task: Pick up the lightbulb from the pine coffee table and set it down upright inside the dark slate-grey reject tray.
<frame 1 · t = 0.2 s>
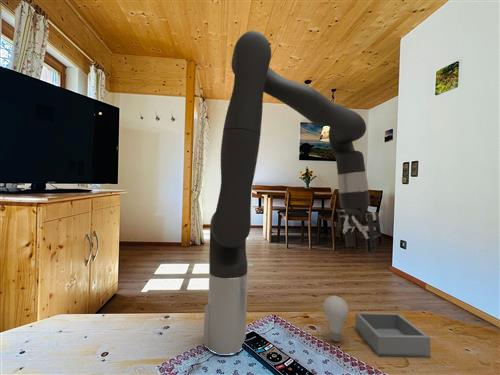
hand: (360, 249, 68), 22 cm above the table, tool pointing down, fingers open, 8 cm apart
reject tray: (389, 341, 63), on the table
lightbulb: (335, 341, 63), on the table
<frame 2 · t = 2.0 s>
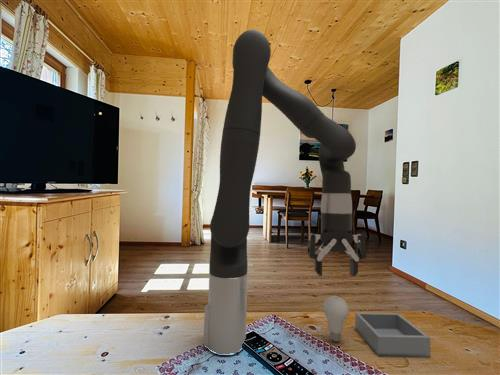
hand: (336, 275, 64), 16 cm above the table, tool pointing down, fingers open, 8 cm apart
nothing on the table moved.
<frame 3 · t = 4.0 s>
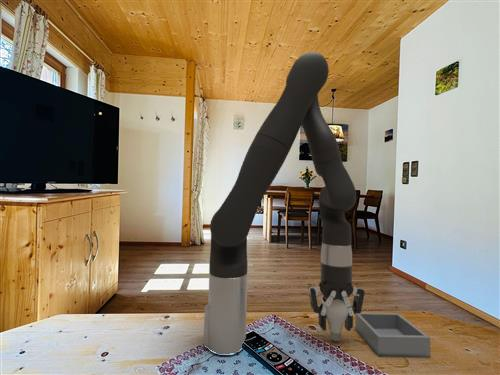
hand: (335, 328, 63), 3 cm above the table, tool pointing down, fingers closed on lightbulb, 5 cm apart
lightbulb: (335, 341, 63), on the table, touching gripper
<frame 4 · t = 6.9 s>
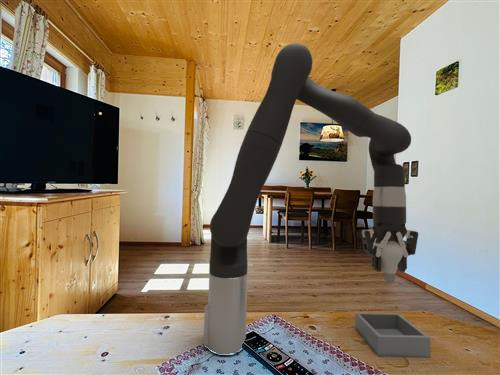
hand: (389, 270, 64), 18 cm above the table, tool pointing down, fingers closed on lightbulb, 5 cm apart
lightbulb: (389, 283, 64), point 15 cm above the table, touching gripper
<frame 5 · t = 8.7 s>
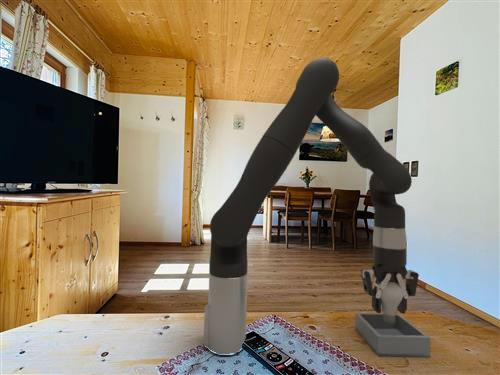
hand: (389, 311, 64), 7 cm above the table, tool pointing down, fingers closed on lightbulb, 5 cm apart
lightbulb: (389, 324, 63), point 4 cm above the table, touching gripper
when the fingers open (5 cm above the table, at t = 10.1 s): lightbulb drops 2 cm, resting on reject tray.
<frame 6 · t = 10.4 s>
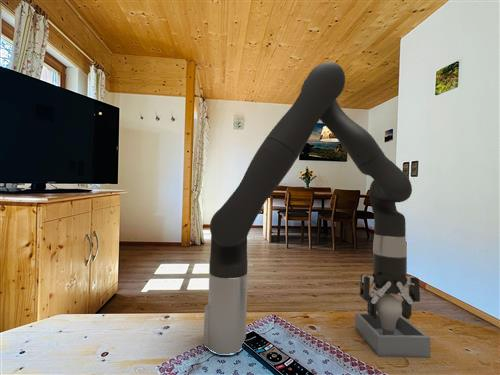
hand: (389, 317, 63), 6 cm above the table, tool pointing down, fingers open, 8 cm apart
lightbulb: (388, 339, 63), resting on reject tray
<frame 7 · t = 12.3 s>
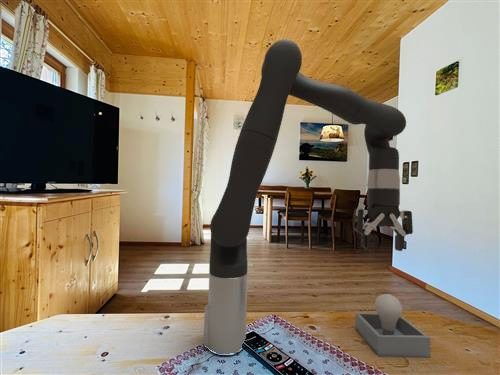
hand: (382, 249, 65), 23 cm above the table, tool pointing down, fingers open, 8 cm apart
nothing on the table moved.
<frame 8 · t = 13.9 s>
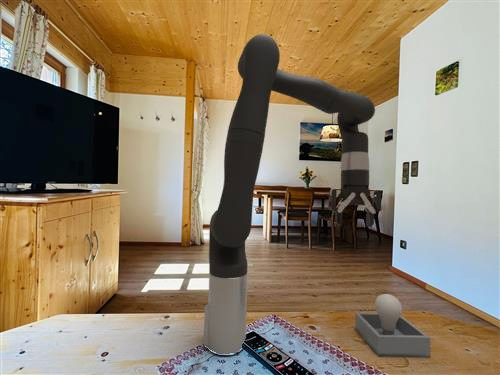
hand: (354, 226, 71), 28 cm above the table, tool pointing down, fingers open, 8 cm apart
nothing on the table moved.
at the end: lightbulb 0.3 cm off-centre on the reject tray, point 0.4 cm above the reject tray's base; lightbulb tilted 0°; the gripper is holding nothing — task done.
